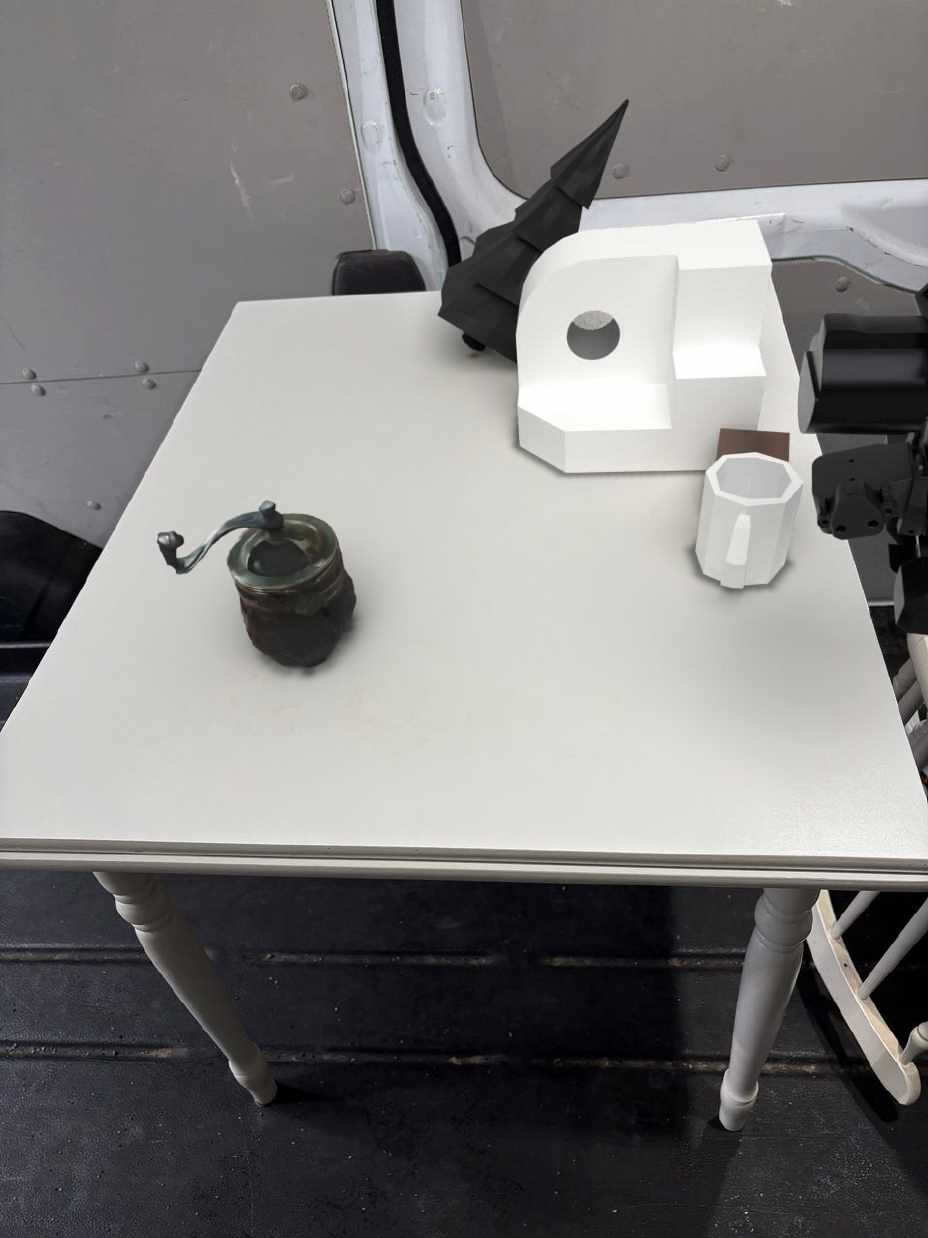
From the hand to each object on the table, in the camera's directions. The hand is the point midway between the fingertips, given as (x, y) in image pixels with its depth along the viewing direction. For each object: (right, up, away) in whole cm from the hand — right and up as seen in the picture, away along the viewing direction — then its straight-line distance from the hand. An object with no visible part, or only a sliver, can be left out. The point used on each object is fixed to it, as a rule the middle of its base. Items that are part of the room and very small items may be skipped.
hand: (907, 614), depth 60 cm
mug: (-5, +4, +22) cm, 23 cm away
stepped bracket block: (-12, +22, +41) cm, 48 cm away
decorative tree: (-22, +38, +57) cm, 72 cm away
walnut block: (-2, +13, +30) cm, 32 cm away
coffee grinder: (-48, -3, +21) cm, 52 cm away
